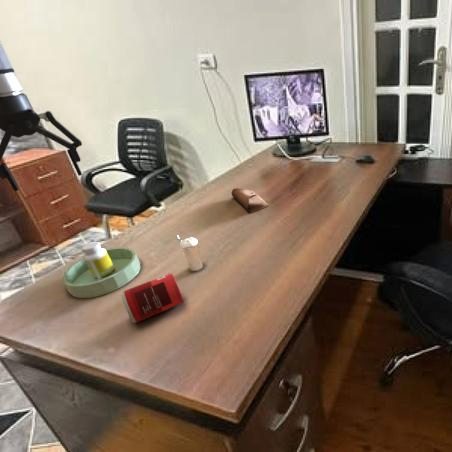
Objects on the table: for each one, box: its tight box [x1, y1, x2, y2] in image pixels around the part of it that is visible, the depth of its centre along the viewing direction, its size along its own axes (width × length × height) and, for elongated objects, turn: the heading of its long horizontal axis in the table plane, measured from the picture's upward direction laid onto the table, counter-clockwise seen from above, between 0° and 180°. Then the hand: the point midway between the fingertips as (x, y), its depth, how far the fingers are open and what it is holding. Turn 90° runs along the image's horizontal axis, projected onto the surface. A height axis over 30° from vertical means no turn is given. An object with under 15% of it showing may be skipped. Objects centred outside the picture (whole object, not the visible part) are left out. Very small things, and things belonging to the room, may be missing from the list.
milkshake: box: [176, 235, 204, 272], centre depth 95 cm, size 4×5×10 cm
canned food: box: [121, 273, 185, 324], centre depth 81 cm, size 8×8×11 cm
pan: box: [61, 246, 141, 299], centre depth 96 cm, size 18×18×4 cm
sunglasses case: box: [231, 188, 269, 213], centre depth 132 cm, size 18×7×7 cm
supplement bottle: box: [81, 241, 116, 280], centre depth 94 cm, size 5×5×10 cm
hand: (49, 181), depth 90 cm, fingers open, 13 cm apart
